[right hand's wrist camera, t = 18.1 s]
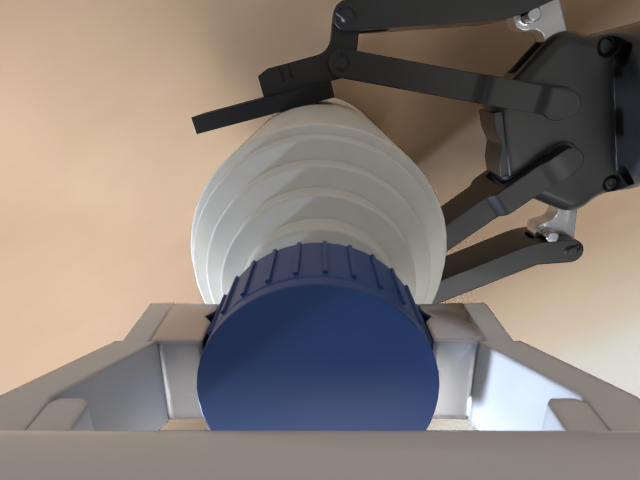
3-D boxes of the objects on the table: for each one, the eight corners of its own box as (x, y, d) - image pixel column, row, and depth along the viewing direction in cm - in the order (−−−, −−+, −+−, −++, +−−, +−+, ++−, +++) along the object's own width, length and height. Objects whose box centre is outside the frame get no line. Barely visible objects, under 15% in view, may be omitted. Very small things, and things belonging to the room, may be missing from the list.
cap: (461, 307, 10) (495, 364, 8) (344, 443, 11) (349, 519, 9) (286, 197, 9) (277, 231, 7) (181, 357, 10) (150, 422, 8)
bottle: (343, 241, 31) (390, 574, 11) (235, 186, 30) (46, 446, 9) (405, 135, 29) (628, 298, 8) (291, 71, 27) (204, 67, 7)
